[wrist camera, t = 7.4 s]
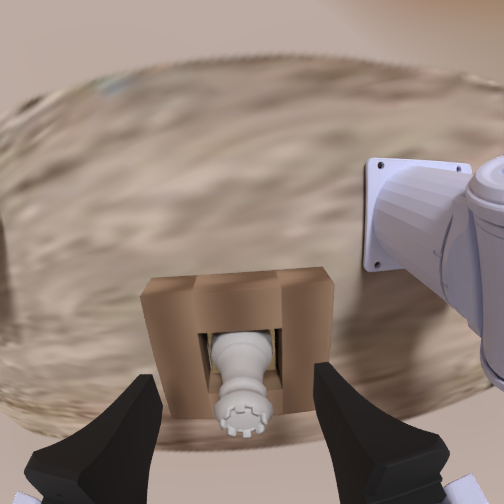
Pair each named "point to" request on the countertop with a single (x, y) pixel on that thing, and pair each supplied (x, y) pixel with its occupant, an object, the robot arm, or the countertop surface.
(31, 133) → the countertop surface
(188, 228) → the countertop surface
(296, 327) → the socket block
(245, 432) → the rook chess piece
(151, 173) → the countertop surface
